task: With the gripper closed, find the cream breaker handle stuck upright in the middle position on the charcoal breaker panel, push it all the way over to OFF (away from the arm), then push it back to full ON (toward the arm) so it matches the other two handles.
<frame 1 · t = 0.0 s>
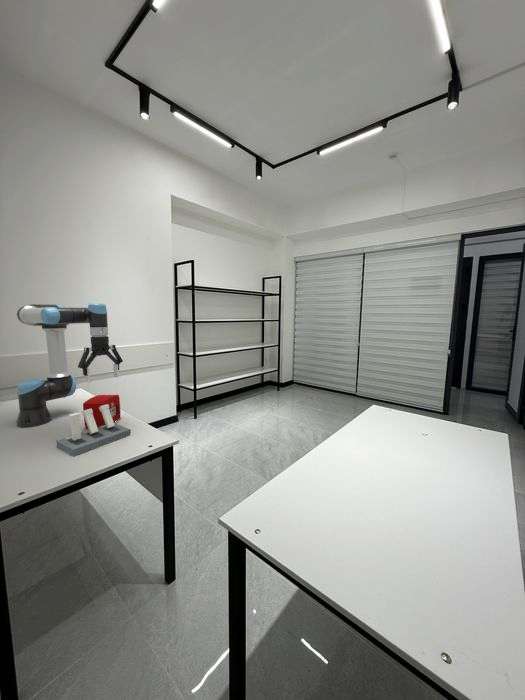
hand: (102, 379, 141), 28 cm above the table, tool pointing down, fingers open, 13 cm apart
handle B: (90, 421, 138), point 9 cm above the table, hinge at -30.0°
tripped handle: (75, 426, 129), point 10 cm above the table, hinge at 0.0°
fire alarm: (103, 424, 158), on the table
handle C: (107, 416, 144), point 9 cm above the table, hinge at -30.0°
breaker panel: (95, 440, 137), on the table
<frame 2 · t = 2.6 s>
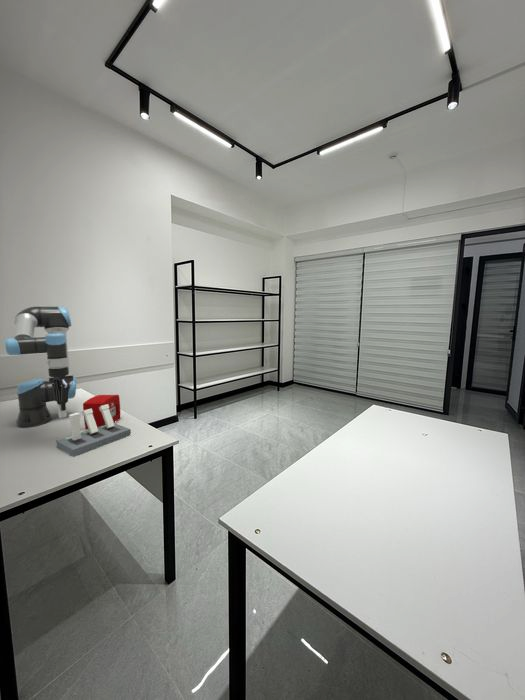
hand: (62, 416, 135), 12 cm above the table, tool pointing down, fingers closed
nothing on the table moved.
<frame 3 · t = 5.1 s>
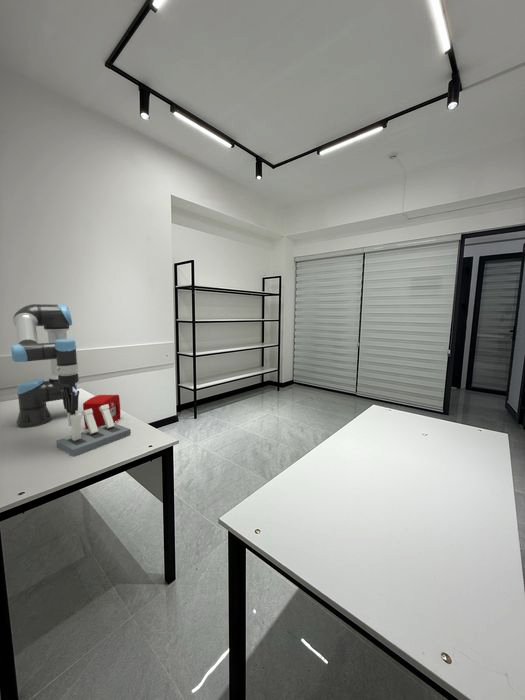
hand: (72, 425, 131), 10 cm above the table, tool pointing down, fingers closed
tripped handle: (76, 426, 129), point 10 cm above the table, hinge at 5.6°, touching gripper
everything else where it was.
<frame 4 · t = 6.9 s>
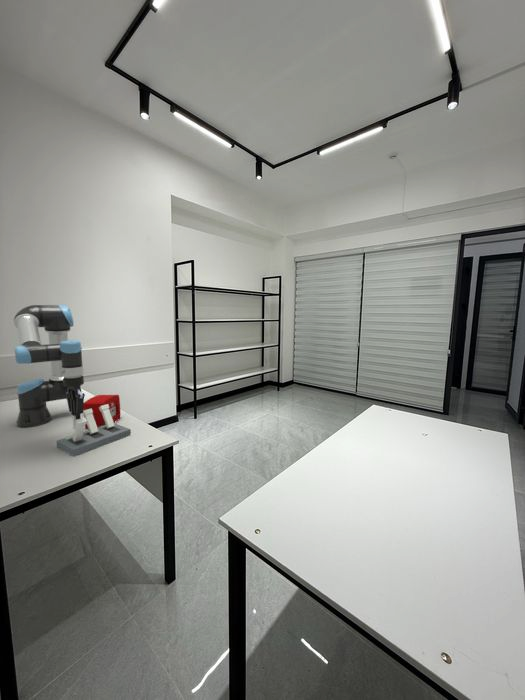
hand: (77, 428, 128), 9 cm above the table, tool pointing down, fingers closed
tripped handle: (79, 430, 128), point 9 cm above the table, hinge at 28.8°
everything else where it was.
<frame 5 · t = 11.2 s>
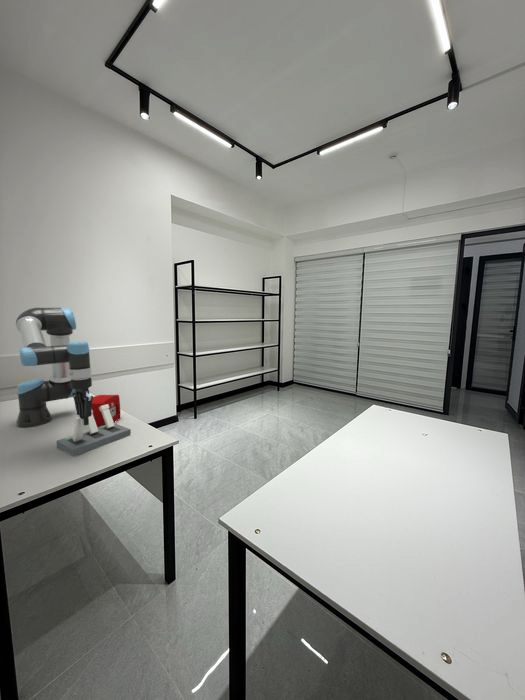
hand: (85, 431, 125), 9 cm above the table, tool pointing down, fingers closed
tripped handle: (79, 429, 128), point 9 cm above the table, hinge at 27.6°, touching gripper
everything else where it was.
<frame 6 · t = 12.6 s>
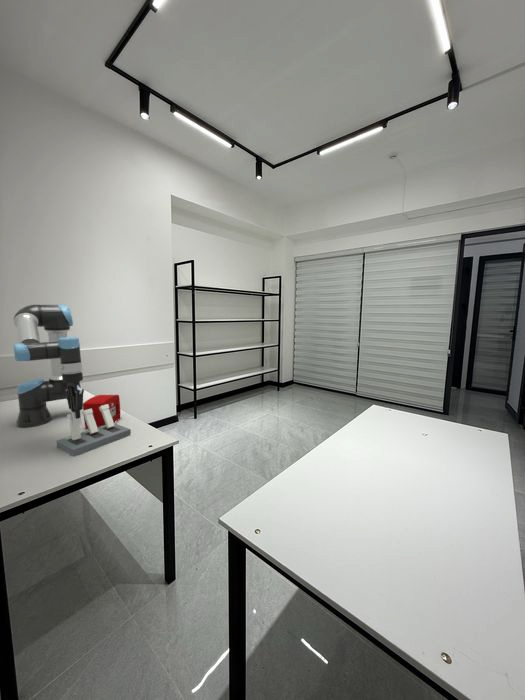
hand: (77, 425, 128), 11 cm above the table, tool pointing down, fingers closed
tripped handle: (74, 426, 130), point 10 cm above the table, hinge at -6.8°, touching gripper
everything else where it was.
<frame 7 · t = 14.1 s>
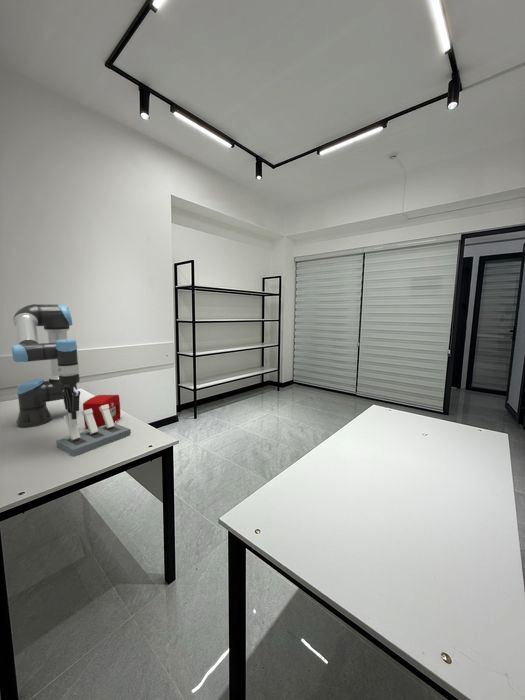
hand: (73, 425, 130), 10 cm above the table, tool pointing down, fingers closed
tripped handle: (72, 426, 131), point 9 cm above the table, hinge at -28.2°, touching gripper
everything else where it was.
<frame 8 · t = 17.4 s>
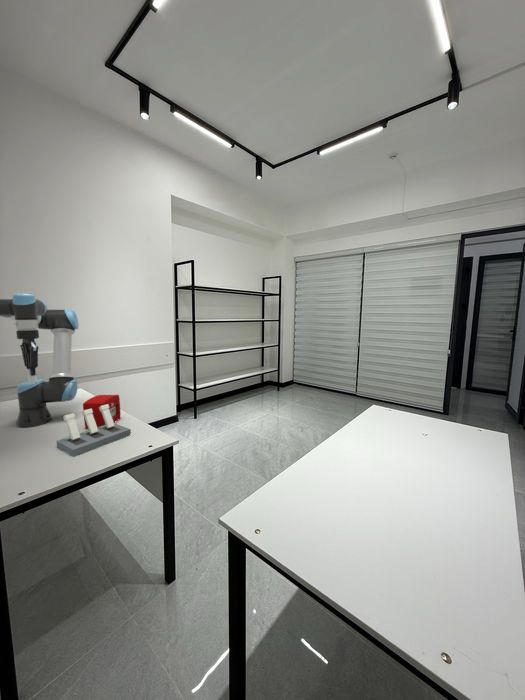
hand: (32, 382, 129), 29 cm above the table, tool pointing down, fingers closed
tripped handle: (72, 426, 131), point 9 cm above the table, hinge at -28.5°
everything else where it was.
at the end: tripped handle at -28° (first picture: +0°); handle B at -30° (first picture: -30°); handle C at -30° (first picture: -30°) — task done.
